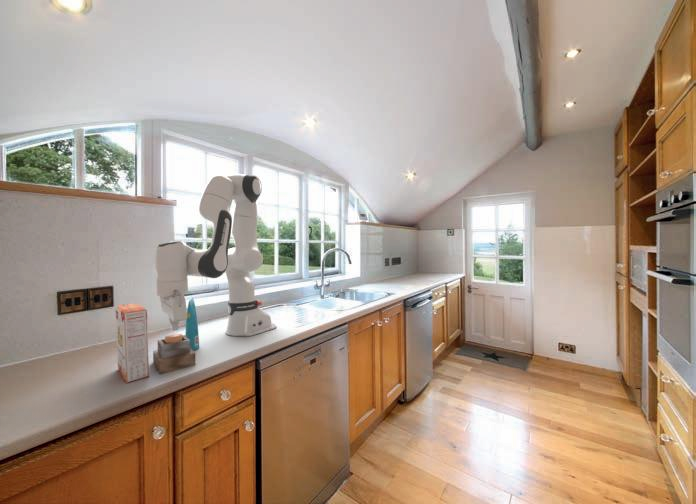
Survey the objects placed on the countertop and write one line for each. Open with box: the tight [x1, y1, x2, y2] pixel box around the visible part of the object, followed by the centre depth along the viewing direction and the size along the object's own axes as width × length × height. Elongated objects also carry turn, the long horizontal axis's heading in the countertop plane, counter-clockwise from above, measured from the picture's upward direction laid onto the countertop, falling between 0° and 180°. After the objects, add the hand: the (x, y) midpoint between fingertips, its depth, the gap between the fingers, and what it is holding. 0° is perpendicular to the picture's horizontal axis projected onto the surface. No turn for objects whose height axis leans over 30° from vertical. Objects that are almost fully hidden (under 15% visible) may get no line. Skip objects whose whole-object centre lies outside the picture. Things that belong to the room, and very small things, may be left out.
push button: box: [164, 333, 183, 344], centre depth 93 cm, size 5×5×5 cm
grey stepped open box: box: [152, 334, 196, 375], centre depth 93 cm, size 10×12×8 cm
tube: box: [184, 297, 200, 351], centre depth 106 cm, size 7×5×19 cm, turn 25°
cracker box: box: [115, 303, 150, 384], centre depth 86 cm, size 14×6×21 cm, turn 47°
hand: (174, 329), depth 93 cm, fingers closed
